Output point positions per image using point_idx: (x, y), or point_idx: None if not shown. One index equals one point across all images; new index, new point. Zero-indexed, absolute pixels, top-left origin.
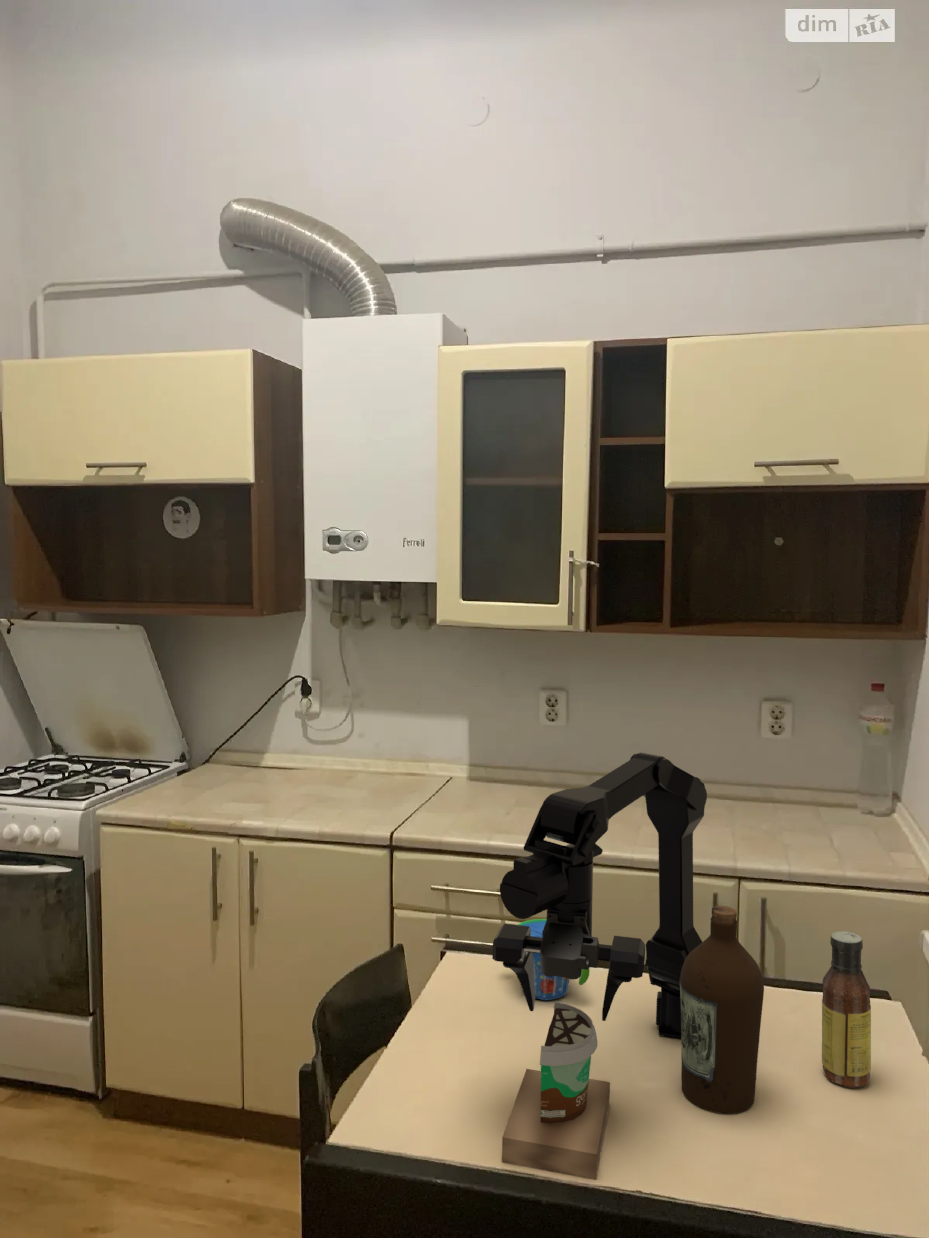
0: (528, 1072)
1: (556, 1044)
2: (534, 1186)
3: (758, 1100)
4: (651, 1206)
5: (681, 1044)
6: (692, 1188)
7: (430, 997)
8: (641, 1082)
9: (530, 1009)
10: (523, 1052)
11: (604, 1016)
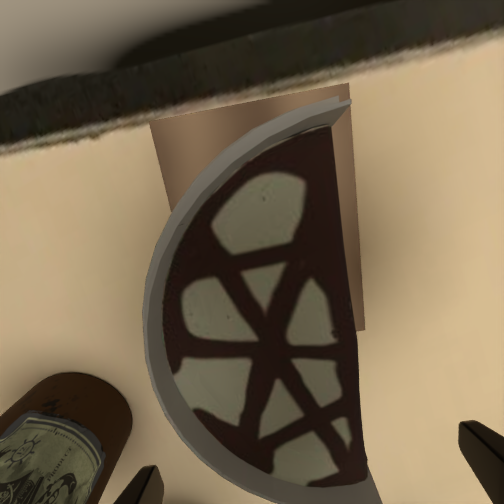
0: (358, 320)
1: (285, 228)
2: (256, 60)
3: None
4: (62, 106)
5: (85, 482)
6: (25, 184)
7: None
8: None
9: (478, 424)
10: (381, 398)
11: (135, 486)
